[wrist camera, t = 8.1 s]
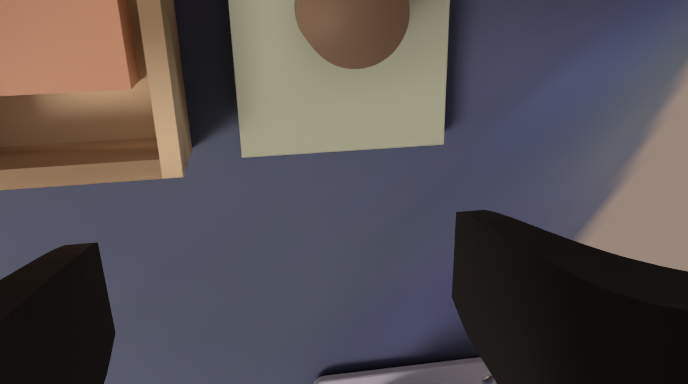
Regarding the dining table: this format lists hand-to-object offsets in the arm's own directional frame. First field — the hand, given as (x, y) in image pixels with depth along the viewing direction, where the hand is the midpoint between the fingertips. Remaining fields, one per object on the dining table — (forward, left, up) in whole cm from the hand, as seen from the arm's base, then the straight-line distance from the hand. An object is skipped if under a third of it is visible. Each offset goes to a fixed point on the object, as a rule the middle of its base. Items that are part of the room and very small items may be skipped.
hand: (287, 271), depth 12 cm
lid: (+5, -3, -10) cm, 11 cm away
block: (+5, +6, -9) cm, 12 cm away
